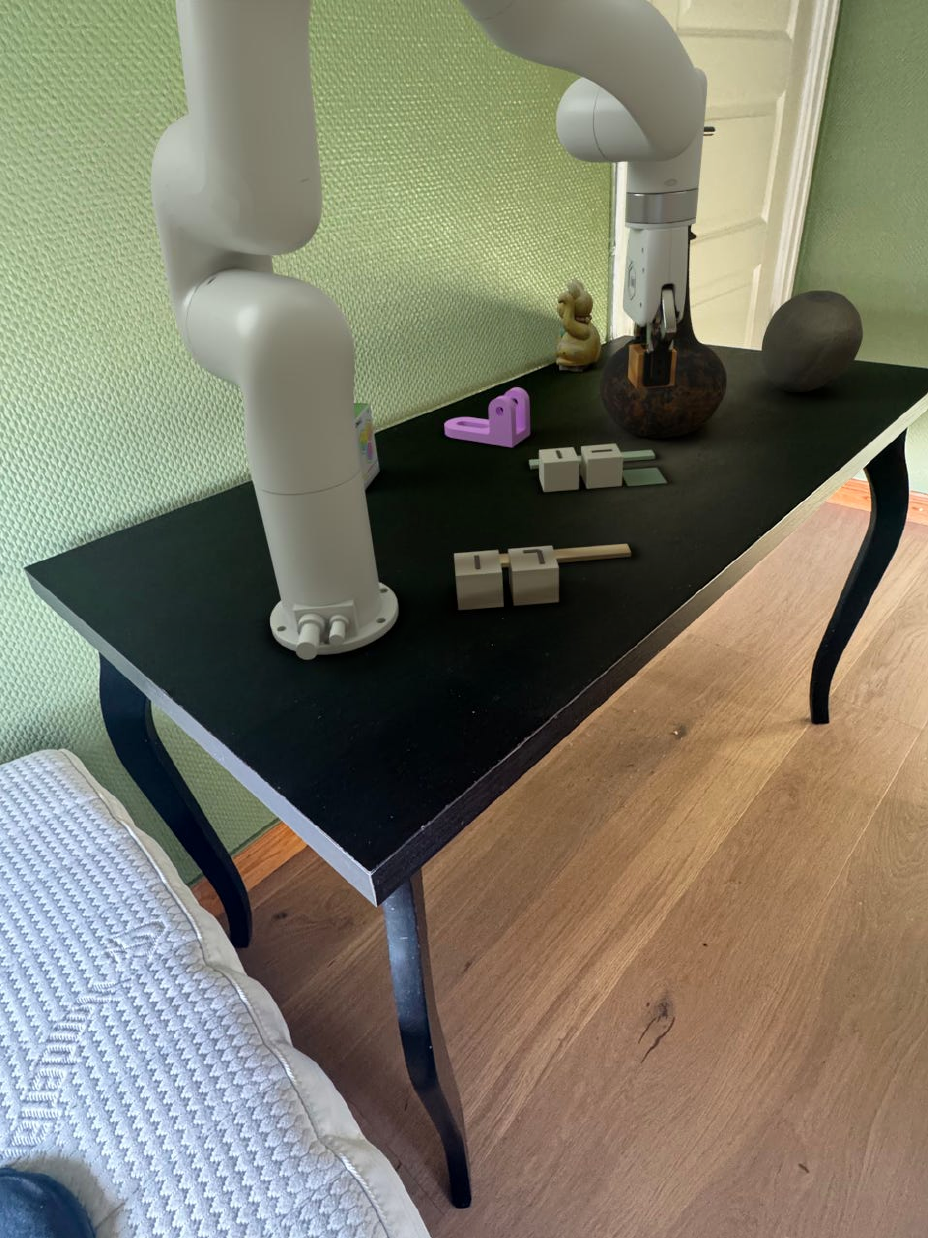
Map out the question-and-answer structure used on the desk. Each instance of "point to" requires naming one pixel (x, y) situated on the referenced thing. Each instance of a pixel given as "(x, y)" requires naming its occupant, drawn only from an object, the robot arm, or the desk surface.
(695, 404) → the brown bottle
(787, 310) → the dark grey rounded piece
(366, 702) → the desk surface
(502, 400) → the bracket
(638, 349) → the orange-brown block
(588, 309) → the decorative figurine
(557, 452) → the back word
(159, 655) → the desk surface
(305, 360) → the robot arm
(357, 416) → the ink box
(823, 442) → the desk surface
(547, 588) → the front word
